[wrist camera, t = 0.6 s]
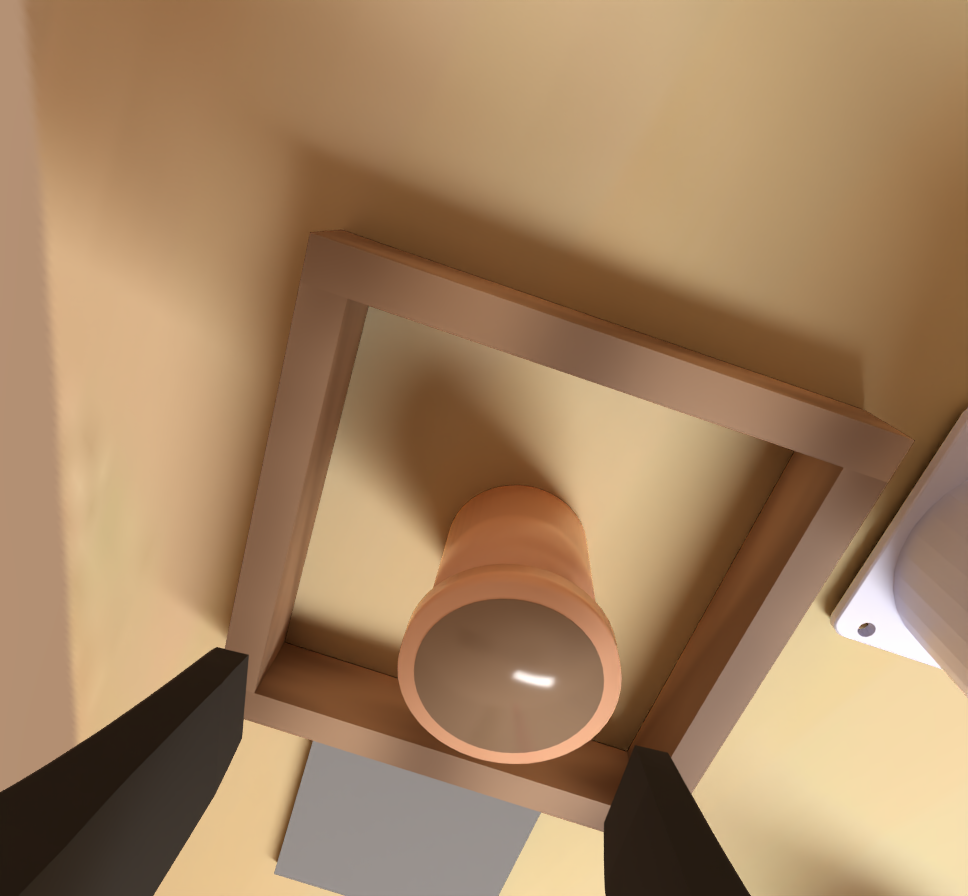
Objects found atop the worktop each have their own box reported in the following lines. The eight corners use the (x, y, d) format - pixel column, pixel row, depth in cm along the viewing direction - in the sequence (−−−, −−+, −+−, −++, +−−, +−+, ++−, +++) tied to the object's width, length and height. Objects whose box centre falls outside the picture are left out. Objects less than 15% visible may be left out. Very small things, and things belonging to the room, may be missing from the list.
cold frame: (864, 409, 17) (914, 440, 15) (644, 784, 23) (656, 848, 21) (341, 229, 17) (309, 232, 15) (246, 657, 22) (212, 709, 20)
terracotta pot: (623, 505, 19) (659, 627, 13) (564, 635, 21) (573, 790, 15) (464, 452, 19) (432, 553, 13) (418, 588, 21) (373, 727, 15)
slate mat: (551, 782, 23) (551, 792, 23) (478, 926, 27) (477, 936, 26) (323, 710, 23) (319, 718, 23) (277, 864, 26) (273, 873, 26)
